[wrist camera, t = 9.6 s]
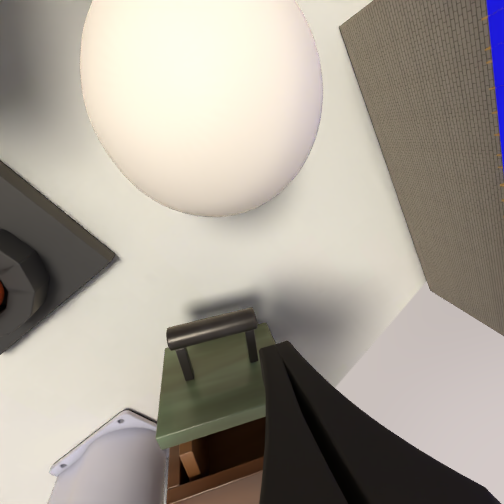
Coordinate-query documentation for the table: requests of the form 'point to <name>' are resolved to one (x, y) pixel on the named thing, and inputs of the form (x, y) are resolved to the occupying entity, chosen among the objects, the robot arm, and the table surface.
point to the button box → (39, 257)
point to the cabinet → (214, 483)
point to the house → (441, 135)
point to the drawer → (214, 392)
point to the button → (1, 292)
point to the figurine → (203, 97)
